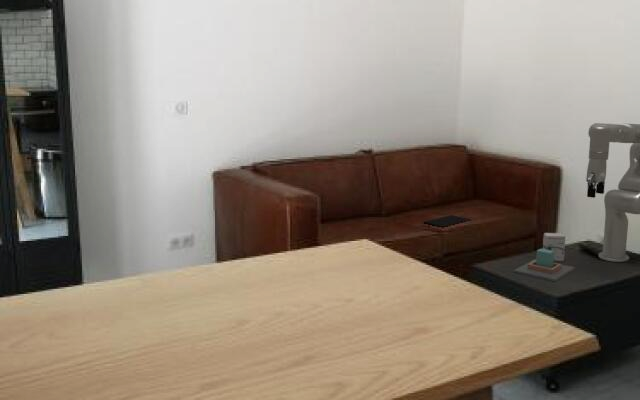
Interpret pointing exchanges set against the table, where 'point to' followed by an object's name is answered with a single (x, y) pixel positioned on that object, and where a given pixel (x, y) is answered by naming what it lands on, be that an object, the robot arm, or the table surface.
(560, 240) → the ink box
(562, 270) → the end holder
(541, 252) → the block
